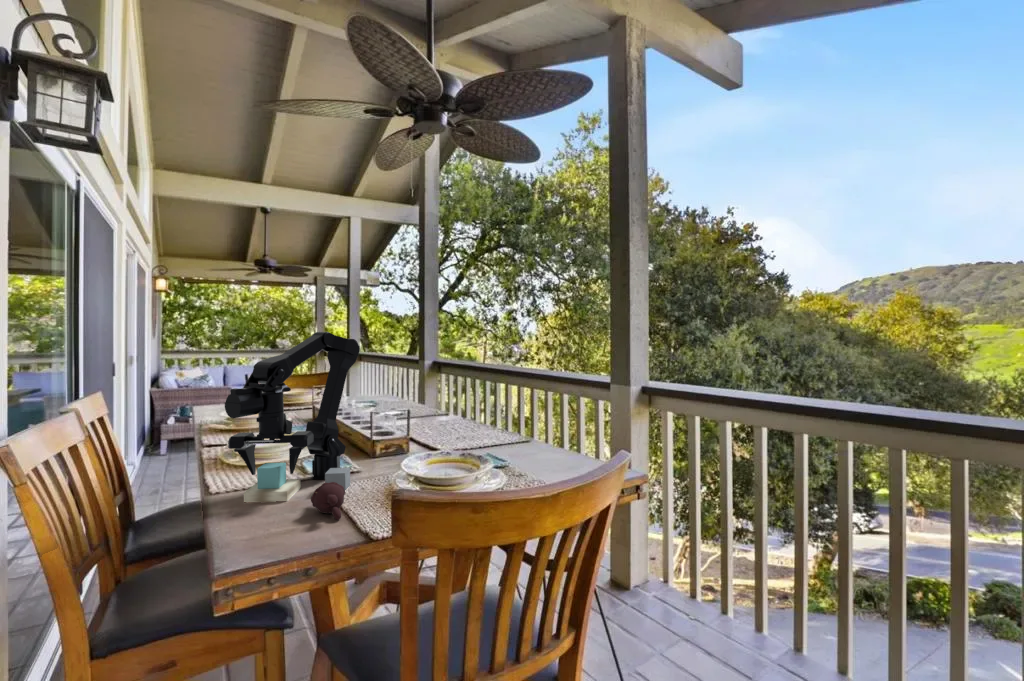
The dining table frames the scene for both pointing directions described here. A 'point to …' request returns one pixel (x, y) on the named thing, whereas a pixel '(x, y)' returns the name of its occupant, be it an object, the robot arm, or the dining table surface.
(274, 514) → the dining table surface
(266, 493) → the birch block
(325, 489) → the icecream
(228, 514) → the dining table surface
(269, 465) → the teal cube
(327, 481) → the light grey cube
